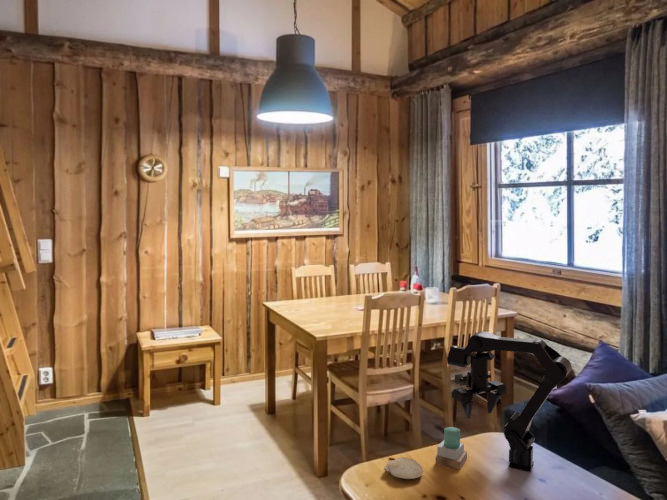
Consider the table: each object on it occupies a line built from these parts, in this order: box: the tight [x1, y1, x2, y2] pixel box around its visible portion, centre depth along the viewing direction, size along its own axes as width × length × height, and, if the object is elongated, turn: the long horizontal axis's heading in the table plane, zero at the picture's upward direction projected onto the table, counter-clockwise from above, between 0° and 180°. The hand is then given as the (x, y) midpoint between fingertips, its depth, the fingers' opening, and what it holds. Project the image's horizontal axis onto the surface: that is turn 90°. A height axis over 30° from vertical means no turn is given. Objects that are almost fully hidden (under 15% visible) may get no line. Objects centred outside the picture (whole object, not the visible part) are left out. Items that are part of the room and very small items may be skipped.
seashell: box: [383, 456, 424, 480], centre depth 166 cm, size 12×12×3 cm
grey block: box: [436, 439, 465, 460], centre depth 174 cm, size 6×6×3 cm
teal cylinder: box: [443, 426, 461, 449], centre depth 173 cm, size 5×5×5 cm
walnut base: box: [435, 450, 468, 470], centre depth 174 cm, size 8×8×3 cm
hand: (478, 415), depth 178 cm, fingers open, 9 cm apart
